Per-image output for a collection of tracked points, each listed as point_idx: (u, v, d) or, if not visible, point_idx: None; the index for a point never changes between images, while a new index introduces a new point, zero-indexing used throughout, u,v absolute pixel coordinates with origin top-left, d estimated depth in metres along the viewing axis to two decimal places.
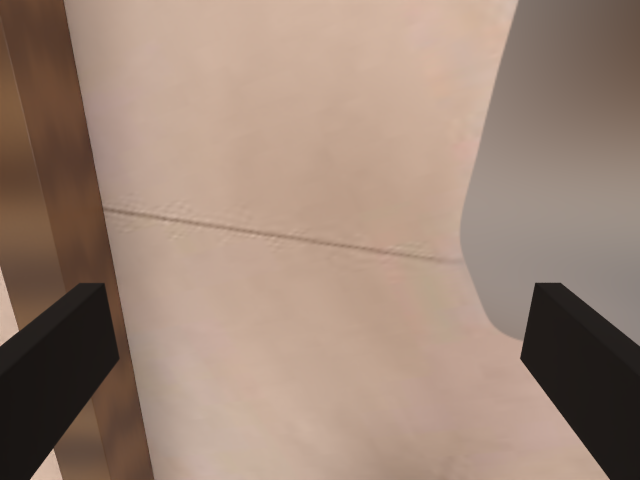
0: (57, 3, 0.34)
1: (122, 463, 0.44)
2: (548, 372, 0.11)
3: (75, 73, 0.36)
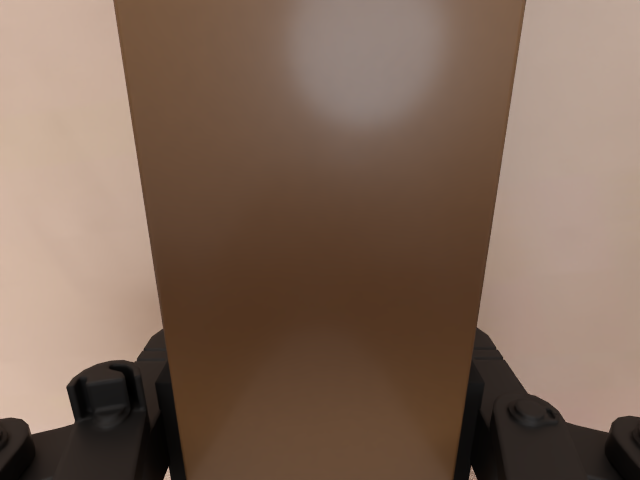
0: None
1: None
2: None
3: None
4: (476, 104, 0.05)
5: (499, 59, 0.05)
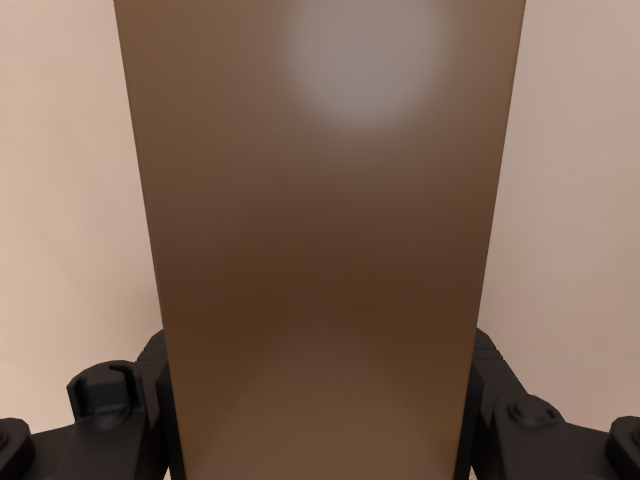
0: None
1: None
2: None
3: None
4: (476, 105, 0.05)
5: (499, 59, 0.05)
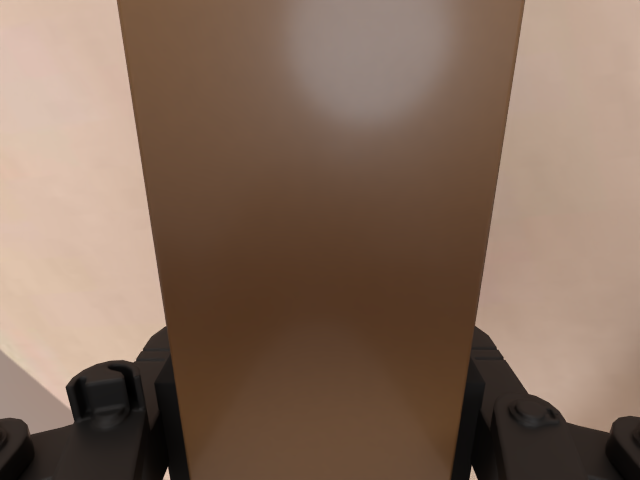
0: None
1: None
2: None
3: None
4: (475, 108, 0.05)
5: (497, 64, 0.05)
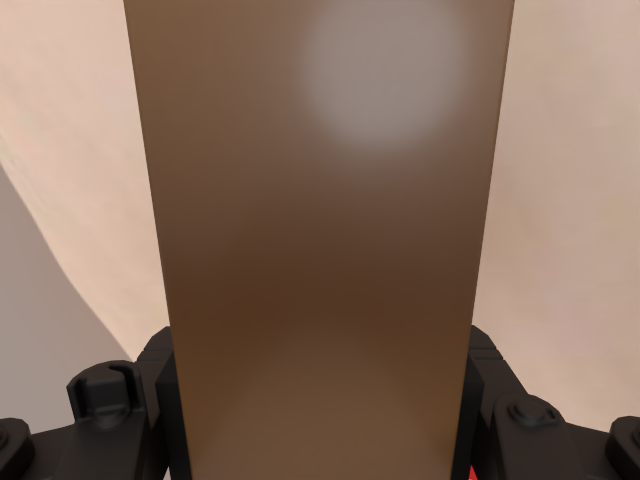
0: None
1: None
2: None
3: None
4: (469, 103, 0.06)
5: (490, 59, 0.05)
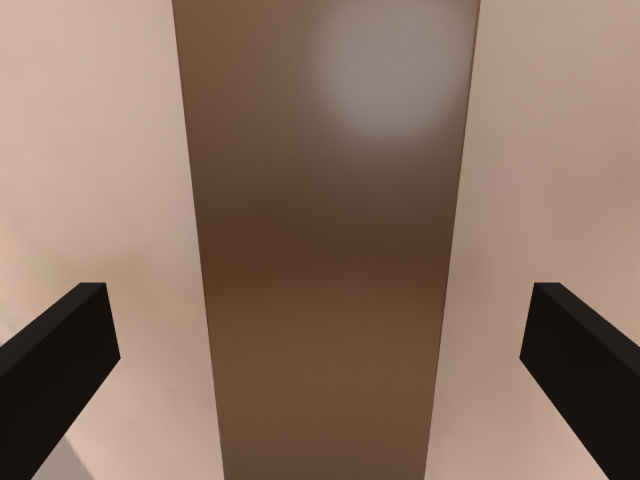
0: None
1: None
2: (547, 372, 0.12)
3: None
4: (446, 73, 0.07)
5: (462, 38, 0.07)
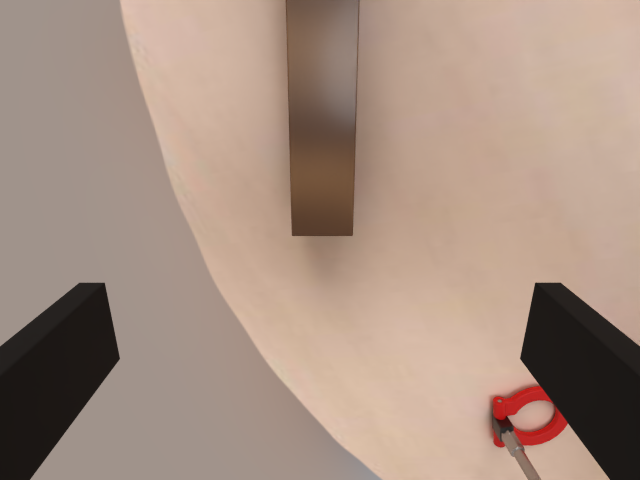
0: None
1: None
2: (548, 372, 0.11)
3: None
4: (350, 86, 0.30)
5: (353, 78, 0.30)
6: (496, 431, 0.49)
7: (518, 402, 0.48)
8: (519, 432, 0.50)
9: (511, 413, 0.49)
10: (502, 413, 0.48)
